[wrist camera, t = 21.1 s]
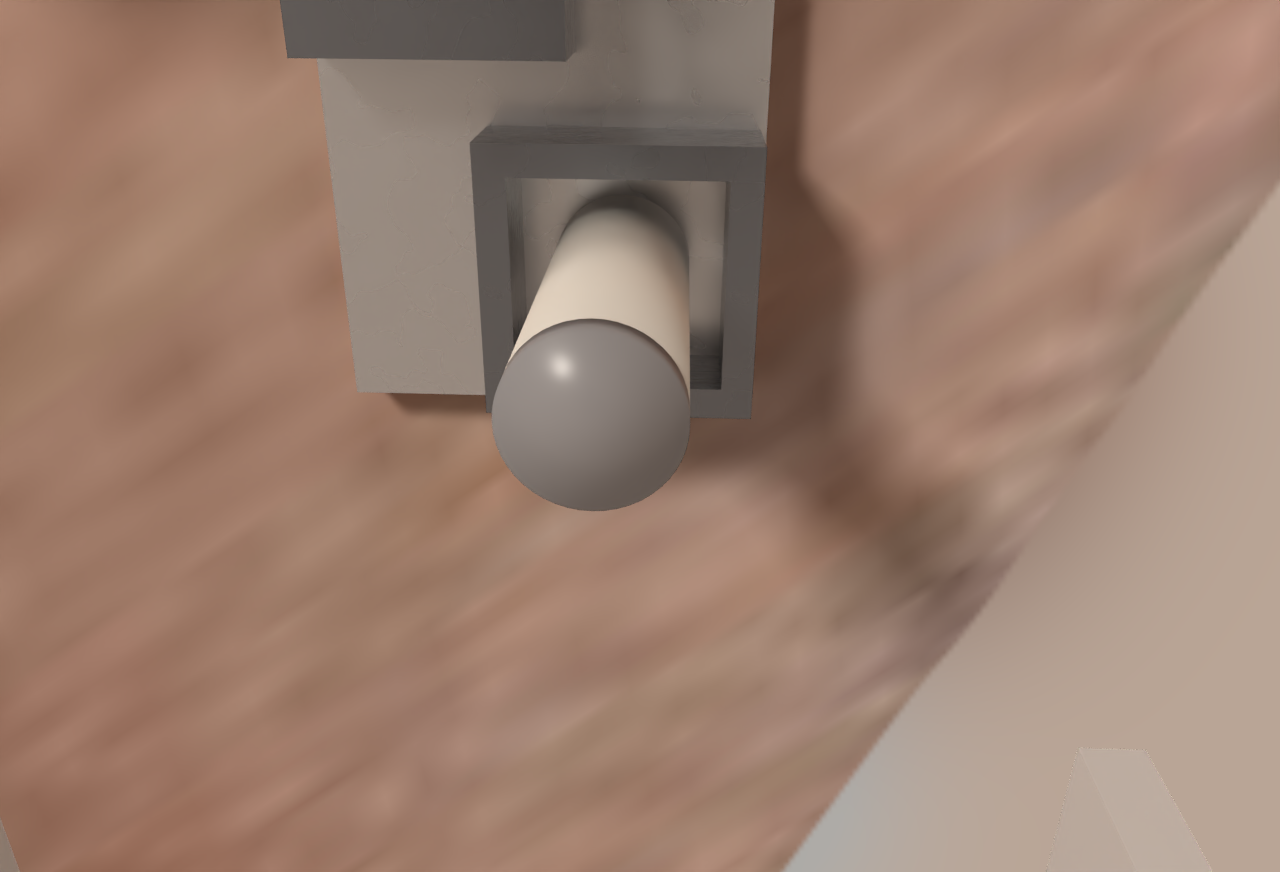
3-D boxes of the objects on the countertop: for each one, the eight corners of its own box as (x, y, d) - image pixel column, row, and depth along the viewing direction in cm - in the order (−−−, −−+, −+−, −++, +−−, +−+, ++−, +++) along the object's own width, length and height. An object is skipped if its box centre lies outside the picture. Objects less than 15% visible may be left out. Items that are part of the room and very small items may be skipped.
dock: (294, -273, 29) (231, -306, 25) (786, -272, 29) (802, -306, 25) (369, 375, 38) (331, 427, 34) (748, 384, 38) (755, 438, 34)
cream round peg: (555, 193, 33) (485, 328, 22) (691, 195, 33) (693, 332, 22) (558, 322, 35) (496, 508, 24) (687, 325, 35) (687, 513, 24)
